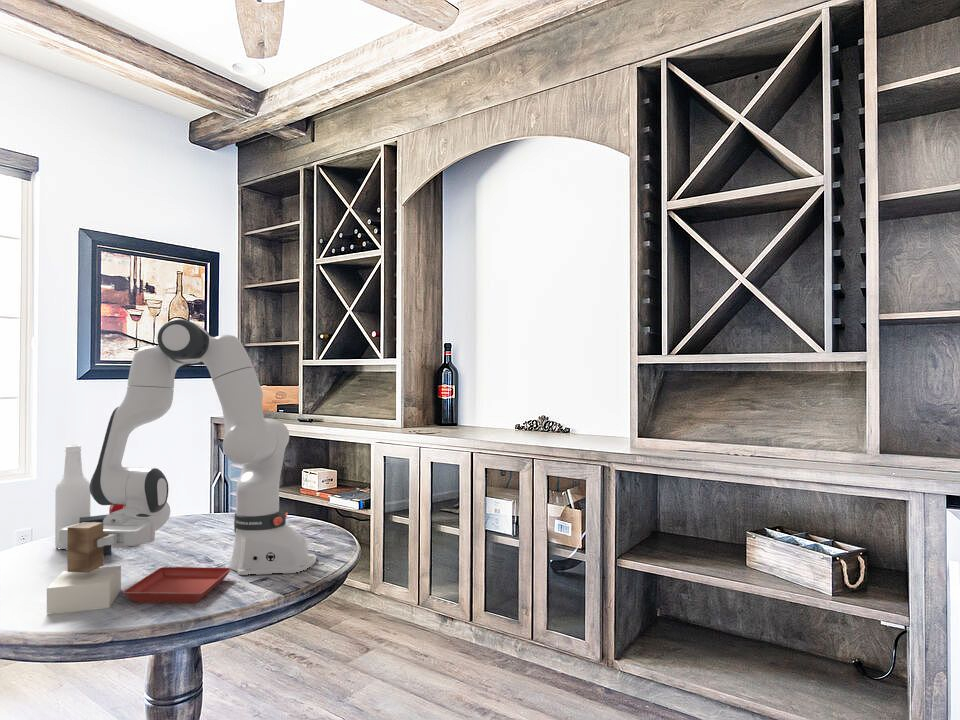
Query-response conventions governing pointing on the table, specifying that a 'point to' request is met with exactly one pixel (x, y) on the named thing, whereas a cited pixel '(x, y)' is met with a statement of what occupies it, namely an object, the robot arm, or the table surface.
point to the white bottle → (71, 493)
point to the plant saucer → (177, 584)
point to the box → (100, 519)
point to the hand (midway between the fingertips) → (83, 543)
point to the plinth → (84, 590)
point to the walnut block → (84, 547)
